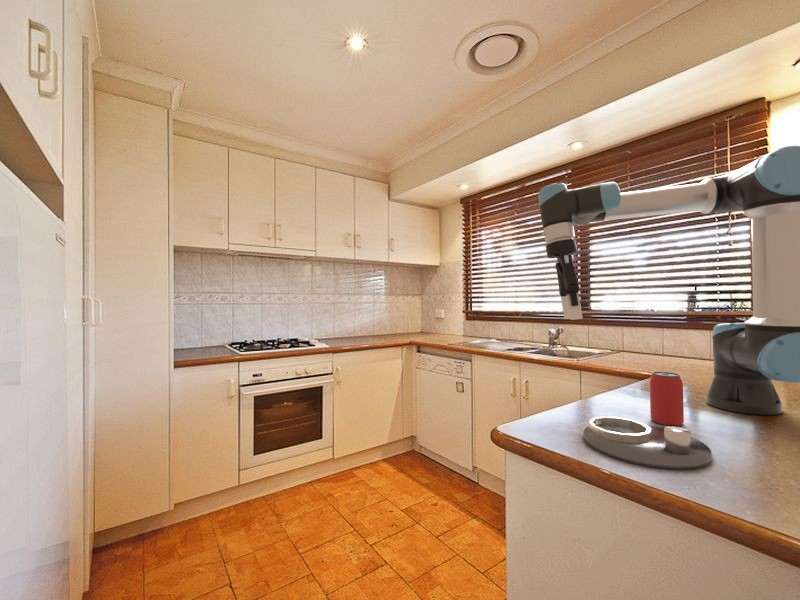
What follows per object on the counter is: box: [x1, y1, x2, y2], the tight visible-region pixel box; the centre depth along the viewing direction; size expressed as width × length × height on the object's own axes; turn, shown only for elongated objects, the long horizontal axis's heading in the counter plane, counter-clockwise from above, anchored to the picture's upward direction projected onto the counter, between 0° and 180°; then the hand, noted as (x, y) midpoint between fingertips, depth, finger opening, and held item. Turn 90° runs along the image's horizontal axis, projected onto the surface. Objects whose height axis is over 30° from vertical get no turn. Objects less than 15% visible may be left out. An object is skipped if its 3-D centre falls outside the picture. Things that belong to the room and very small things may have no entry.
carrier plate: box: [583, 416, 713, 471], centre depth 76 cm, size 22×22×5 cm
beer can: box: [649, 371, 685, 427], centre depth 89 cm, size 7×7×12 cm
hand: (573, 319), depth 97 cm, fingers open, 13 cm apart
